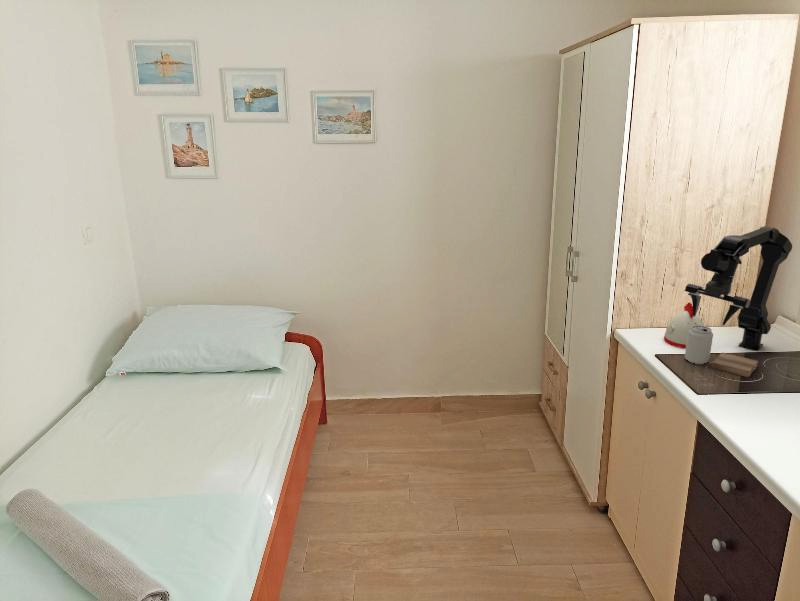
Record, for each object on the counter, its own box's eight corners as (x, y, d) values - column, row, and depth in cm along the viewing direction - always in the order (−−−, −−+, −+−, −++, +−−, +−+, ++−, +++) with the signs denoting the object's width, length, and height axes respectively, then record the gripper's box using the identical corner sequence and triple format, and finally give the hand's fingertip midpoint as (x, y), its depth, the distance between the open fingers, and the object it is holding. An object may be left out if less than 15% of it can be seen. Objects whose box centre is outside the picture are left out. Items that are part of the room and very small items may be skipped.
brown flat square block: (721, 359, 206) (722, 352, 206) (757, 367, 199) (758, 360, 199) (711, 369, 199) (712, 362, 198) (748, 378, 192) (749, 371, 191)
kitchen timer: (670, 348, 215) (675, 309, 210) (659, 334, 228) (664, 296, 223) (711, 349, 213) (717, 309, 208) (697, 335, 226) (703, 297, 221)
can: (711, 366, 200) (716, 332, 196) (687, 364, 201) (692, 331, 198) (705, 357, 207) (710, 324, 203) (681, 355, 208) (686, 323, 205)
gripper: (687, 265, 195) (672, 311, 198) (750, 281, 183) (733, 329, 186) (696, 268, 204) (682, 312, 206) (757, 283, 192) (741, 329, 194)
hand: (708, 320), depth 198 cm, fingers open, 9 cm apart
